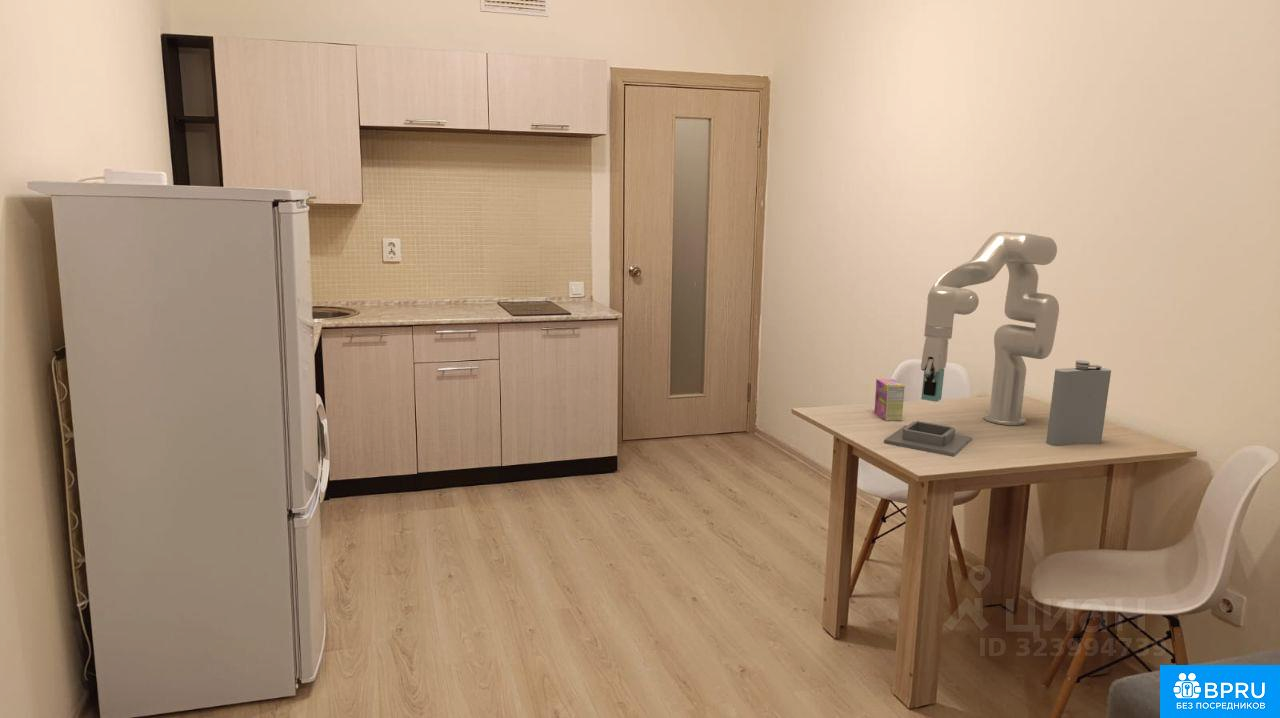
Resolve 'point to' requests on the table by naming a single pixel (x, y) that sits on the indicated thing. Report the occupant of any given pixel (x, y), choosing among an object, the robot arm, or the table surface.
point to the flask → (1078, 405)
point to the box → (889, 399)
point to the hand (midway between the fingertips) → (931, 393)
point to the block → (938, 387)
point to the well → (929, 438)
